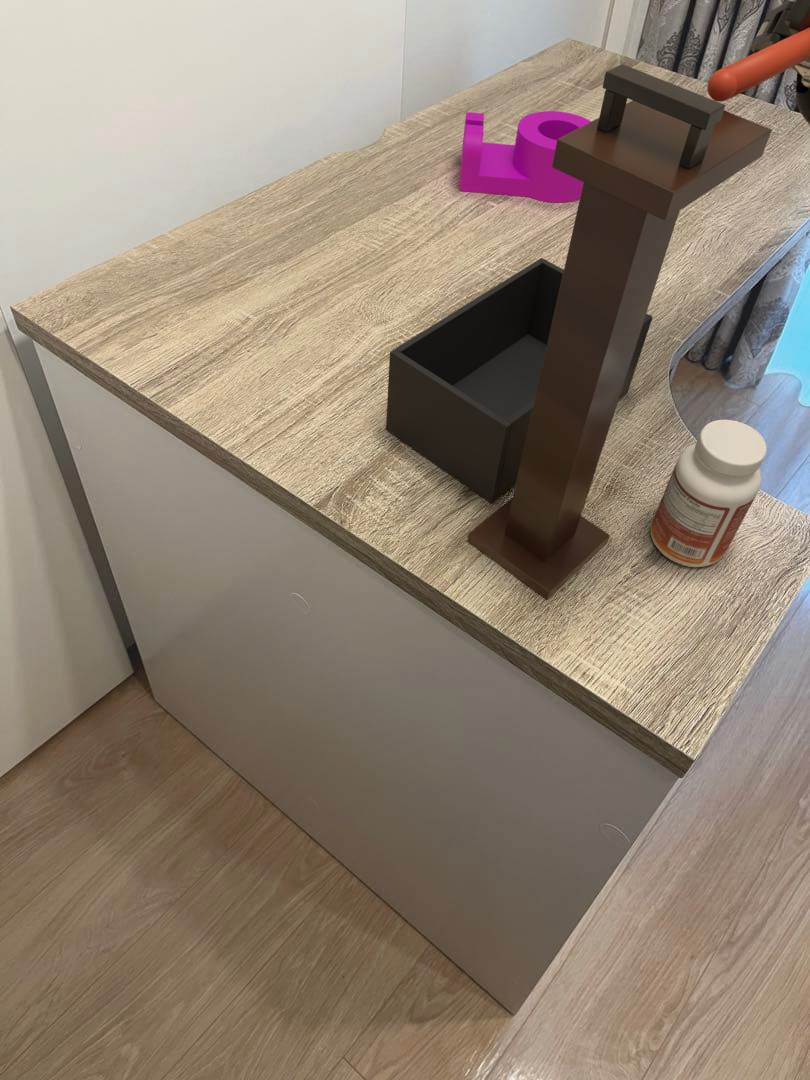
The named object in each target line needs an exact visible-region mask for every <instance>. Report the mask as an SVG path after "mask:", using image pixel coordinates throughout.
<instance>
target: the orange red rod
mask: <svg viewBox="0 0 810 1080" xmlns="http://www.w3.org/2000/svg"><path fill="white" fill-rule="evenodd" d="M809 58H810V27H809V28H807V29H805V30H803V31H801V32H799V33H797V34H794V35H792V36H790V37H788V38H786V39H784V40H782V41H779V42H777V43H775V44H773V45H771V46H769V47H767V48H765V49H762V50H760V51H758V52H756V53H752V54H750V55H748V56H745V57H743V58H741V59H739V60H738V61H735V62H732V63H730V64H728V65H726V66H724V67H722V68H720V69H718V70H716V71H715V72H713V74H712V75H711V76H710V78H709V79H708V81H707V85H706V86H707V89H706V90H707V93H708V95H709V97H710V99H712V100H714V101H717V102H719V103H722V102H726V101H729V100H731V99H732V98H734V97H736V96H739V95H741V94H742V93H744V92H746V91H748V90H750V89H752V88H754V87H756V86H758V85H759V84H762V83H764V82H765V81H768V80H769V79H772V78H773V77H776V76H777V75H779V74H781V73H784V72H785V71H787V70H789V69H792V68H791V67H793V66H795V65H797V64H799V63H801V62H803V61H805V60H807V59H809Z"/></svg>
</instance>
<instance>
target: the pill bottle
mask: <svg viewBox="0 0 810 1080" xmlns="http://www.w3.org/2000/svg"><path fill="white" fill-rule="evenodd" d="M767 449H768V447H767V443H766V440H765V438H763V436H762V434H761V433H760V432H758V431H757V430H756V429H755V428H754V427H752V426H750V425H748V424H746V423H744V422H740V421H737V420H732V419H717V420H713V421H711V422H709V423H707V424H706V425H705V426H704V427H703V428H702V430H701V431H700V433H699V435H698V438H697V440H696V442H694V443H692V444H691V445H689V446H687V447H686V448H685V449H683V450H682V452H681V453H680V454H679V457H678V459H677V461H676V462H675V466H674V468H673V471H672V473H671V475H670V478H669V480H668V482H667V485H666V487H665V490H664V492H663V494H662V496H661V499H660V501H659V504H658V507H657V509H656V512H655V513H654V515H653V516H654V517H653V519H652V522H651V525H650V536H651V539H652V542H653V544H654V546H655V547H656V549H658V550H659V552H660V553H661V554H662V555H663V556H665V558H667V559H668V560H670V561H672V562H674V563H676V564H679V565H681V566H685V567H689V568H690V567H691V568H703V567H707V566H711V565H713V564H715V563H716V562H718V561H720V560H721V559H722V558H723V557H724V556H725V554H726V552H727V551H728V550H729V547H730V546H731V544H732V543H733V540H734V538H735V536H736V534H737V532H738V530H739V528H740V527H741V525H742V523H743V521H744V519H745V517H746V516H747V513H748V511H749V509H750V508H751V506H752V504H753V503H754V500H755V498H756V497H757V495H758V493H759V490H760V488H761V485H762V472H761V466H762V463H763V461H764V459H765V458H766V455H767V451H768V450H767Z"/></svg>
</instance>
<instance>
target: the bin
mask: <svg viewBox="0 0 810 1080" xmlns="http://www.w3.org/2000/svg"><path fill="white" fill-rule="evenodd" d="M563 272H564V268H562V267H560V266H558V265H556V264H554V263H552V262H550V261H549V260H547V259H545V258H544V257H540V258H538V259H536V260H535V261H533V262H531V263H530V264H529V265H527V266H525V267H524V268H522V269H521V270H519V271H518V272H516V273H514V274H513V275H511V276H509V277H508V278H506V279H505V280H503V281H501V282H499V283H498V284H497V285H495V286H494V287H491V288H490V289H488V290H487V291H485V292H484V293H482V294H480V295H479V296H477V297H475V298H474V299H473V300H470V301H469V302H468V303H465V304H464V305H463V306H461V307H460V308H458V309H456V310H455V311H453V312H452V313H450V314H448V315H446V316H445V317H443V318H442V319H440V320H439V321H437V322H435V323H434V324H432V325H431V326H429V327H427V328H425V329H424V330H422V331H421V332H419V333H418V334H416V335H414V336H413V337H411V338H410V339H407V340H406V341H404V342H403V343H401V344H400V345H398V346H396V347H395V348H393V349H392V350H390V351H389V361H388V363H389V364H388V378H387V379H388V381H387V397H386V399H387V400H386V403H387V404H386V420H385V421H386V422H385V431H387V432H389V433H390V434H391V435H392V436H393V437H396V438H397V439H398V440H400V441H401V442H403V443H404V444H406V445H407V446H409V447H410V448H411V449H413V450H414V451H416V452H417V453H418V454H420V455H421V456H423V457H424V458H426V459H427V460H428V461H430V462H432V464H434V465H436V467H438V468H440V469H441V470H443V471H444V472H445V473H447V474H448V475H450V476H452V477H453V478H454V479H456V480H457V481H458V482H460V483H461V484H463V485H464V486H465V487H467V488H469V489H470V490H471V491H473V492H474V493H475V494H477V495H479V496H480V497H481V498H483V499H484V500H486V501H487V502H489V503H490V504H493V503H494V502H496V501H497V500H498V499H499V498H501V497H502V496H503V495H505V493H507V492H508V491H509V490H511V489H512V488H513V487H515V485H516V481H517V476H518V472H519V467H520V463H521V458H522V454H523V450H524V445H525V441H526V436H527V432H528V427H529V423H530V418H531V414H532V410H533V405H534V401H535V396H536V392H537V387H538V383H539V378H540V374H541V370H542V365H543V361H544V356H545V352H546V347H547V343H548V339H549V334H550V330H551V325H552V321H553V316H554V312H555V307H556V303H557V299H558V294H559V290H560V285H561V281H562V276H563ZM653 318H654V317H653V316H652V315H650V314H648V313H646V316H645V319H644V322H643V325H642V329H641V332H640V335H639V338H638V341H637V344H636V347H635V350H634V353H633V356H632V360H631V363H630V366H629V369H628V372H627V375H626V378H625V381H624V384H623V387H622V390H621V394H620V397H619V400H621V399H622V398H623V397H625V396H626V395H628V393H629V390H630V387H631V384H632V381H633V378H634V375H635V371H636V369H637V366H638V363H639V361H640V356H641V353H642V351H643V348H644V345H645V341H646V339H647V336H648V333H649V329H650V327H651V323H652V321H653Z"/></svg>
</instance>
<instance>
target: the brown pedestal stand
mask: <svg viewBox="0 0 810 1080" xmlns="http://www.w3.org/2000/svg"><path fill="white" fill-rule="evenodd" d="M602 89H604V95H603V100H602V103H601V108H600V113H599V117H598V118H596V119H594V120H592V121H591V122H590V123H588V124H586V125H584V126H582V127H580V128H578V129H576V130H574V131H572V132H570V133H569V134H567V135H565V136H563V137H561V138H559V139H557V143H556V148H555V153H554V158H553V164H552V167H553V168H555V169H557V170H559V171H561V172H563V173H565V174H567V175H569V176H572V177H574V178H576V179H578V180H580V181H582V182H584V183H583V188H582V192H581V196H580V199H579V202H578V206H577V210H576V215H575V218H574V219H575V220H574V224H573V228H572V232H571V237H570V241H569V245H568V246H569V247H568V250H567V253H566V259H565V262H564V263H565V264H564V268H563V269H564V272H563V276H562V281H561V285H560V290H559V294H558V299H557V303H556V307H555V312H554V316H553V321H552V325H551V330H550V334H549V339H548V343H547V347H546V352H545V356H544V361H543V365H542V370H541V374H540V378H539V383H538V387H537V392H536V396H535V401H534V405H533V410H532V414H531V418H530V423H529V427H528V432H527V436H526V441H525V445H524V450H523V454H522V458H521V463H520V467H519V472H518V476H517V481H516V484H515V485H514V490H513V494H512V497H511V498H510V499H508V501H506V502H505V503H504V504H503V505H502V506H500V507H498V509H497V510H495V511H494V512H493V513H492V514H490V515H489V516H487V518H485V519H484V520H483V521H482V522H481V523H479V524H478V525H477V526H476V527H475V528H473V530H471V531H470V532H469V533H468V535H467V542H468V543H469V544H471V545H472V546H473V547H474V548H476V549H477V550H479V551H480V552H481V553H483V554H484V555H486V556H487V557H488V558H490V559H491V560H492V561H494V562H495V563H496V564H498V565H499V566H500V567H502V568H503V569H505V570H506V572H508V573H510V574H512V575H513V576H514V577H516V579H518V580H519V581H521V582H522V583H524V584H525V585H526V586H528V587H529V588H530V589H532V590H533V591H535V592H536V593H537V594H539V595H540V596H542V597H543V598H544V599H545V600H549V599H550V598H551V597H552V596H553V595H554V594H555V593H556V592H557V591H558V590H559V589H560V588H561V587H562V586H563V585H564V584H566V583H567V582H568V581H569V580H570V579H571V578H572V577H573V576H574V575H575V574H576V573H577V572H579V570H580V569H581V568H582V567H584V565H586V563H588V562H589V561H590V560H591V559H592V558H593V557H594V556H595V555H596V554H597V553H598V552H599V551H601V549H602V548H603V547H604V546H605V545H607V544H608V541H609V539H610V534H609V533H607V532H606V531H604V530H603V529H602V528H601V527H599V526H598V525H595V524H594V523H593V522H591V521H590V520H588V519H586V518H585V517H583V516H582V514H583V510H584V508H585V504H586V502H587V498H588V497H589V492H590V490H591V486H592V483H593V480H594V477H595V473H596V471H597V469H598V468H597V467H598V464H599V461H600V458H601V455H602V453H603V449H604V445H605V443H606V440H607V436H608V433H609V431H610V428H611V424H612V421H613V418H614V415H615V412H616V408H617V406H618V403H619V401H620V399H619V397H620V394H621V390H622V387H623V384H624V381H625V378H626V375H627V372H628V369H629V366H630V363H631V360H632V356H633V353H634V350H635V347H636V344H637V341H638V338H639V335H640V332H641V329H642V325H643V322H644V319H645V316H646V314H648V310H649V307H650V303H651V300H652V297H653V294H654V291H655V288H656V285H657V282H658V279H659V277H660V273H661V269H662V266H663V263H664V260H665V257H666V254H667V251H668V248H669V245H670V241H671V238H672V235H673V233H674V229H675V227H676V223H677V220H678V218H679V217H678V216H679V214H680V211H682V210H683V209H685V208H686V207H687V206H689V205H691V204H692V203H694V202H695V201H697V200H698V199H700V198H702V197H703V196H704V195H705V194H707V193H709V192H710V191H712V190H714V189H716V188H717V187H718V186H720V185H721V184H722V183H724V182H725V181H727V180H728V179H729V178H731V177H732V176H734V175H736V174H737V173H739V172H741V171H742V170H744V169H745V168H747V167H749V166H750V165H751V164H752V163H754V162H756V161H757V160H759V159H760V158H762V157H763V155H764V152H765V150H766V147H767V144H768V141H769V139H770V136H771V133H772V131H773V130H772V128H769V127H767V126H764V125H762V124H759V123H756V122H754V121H752V120H749V119H747V118H745V117H741V116H740V115H737V114H734V113H732V112H729V111H727V110H725V108H726V104H724V103H722V102H719V101H715V100H713V99H712V98H709V97H707V96H704V95H702V94H700V93H696V92H694V91H691V90H689V89H687V88H684V87H681V86H679V85H676V84H674V83H672V82H669V81H667V80H664V79H661V78H659V77H656V76H654V75H652V74H649V73H646V72H644V71H642V70H639V69H636V68H634V67H631V66H629V65H626V64H624V63H621V64H619V65H617V66H615V67H613V68H611V69H608V70H606V71H605V73H604V78H603V83H602ZM628 100H631V101H628Z"/></svg>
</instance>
